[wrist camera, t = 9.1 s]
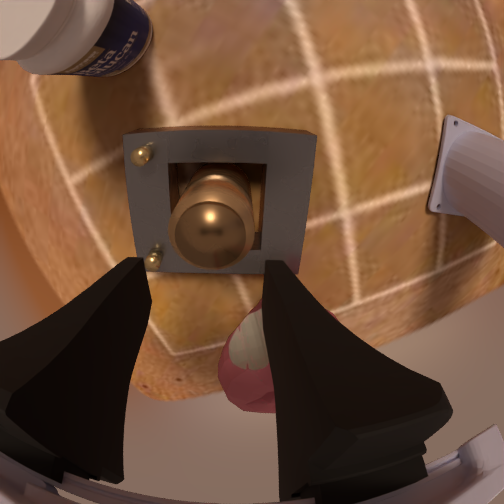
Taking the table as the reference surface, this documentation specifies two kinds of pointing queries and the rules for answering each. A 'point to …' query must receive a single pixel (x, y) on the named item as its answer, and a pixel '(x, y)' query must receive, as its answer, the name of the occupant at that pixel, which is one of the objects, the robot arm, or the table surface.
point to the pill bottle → (74, 35)
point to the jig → (220, 150)
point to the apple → (248, 366)
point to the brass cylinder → (214, 218)
